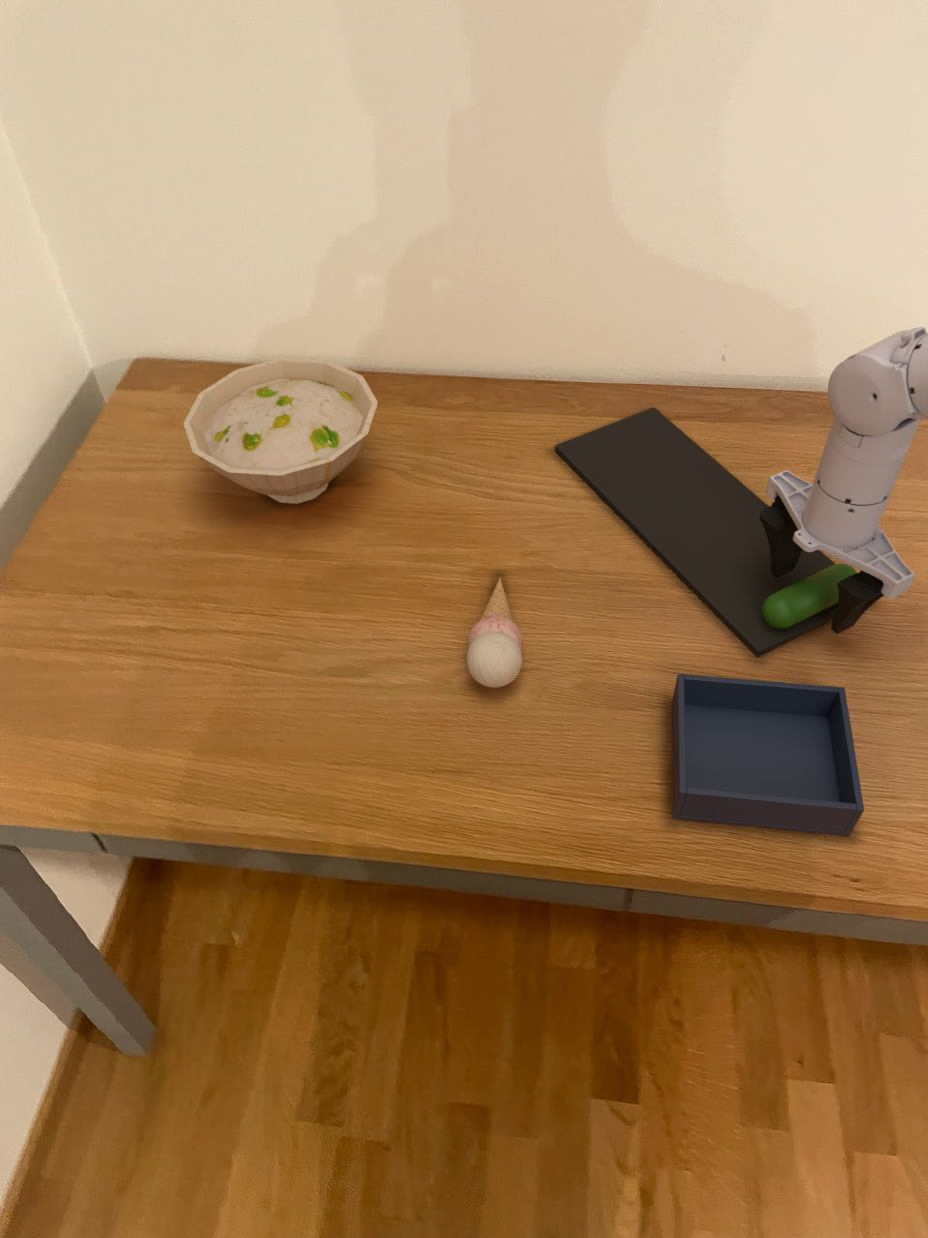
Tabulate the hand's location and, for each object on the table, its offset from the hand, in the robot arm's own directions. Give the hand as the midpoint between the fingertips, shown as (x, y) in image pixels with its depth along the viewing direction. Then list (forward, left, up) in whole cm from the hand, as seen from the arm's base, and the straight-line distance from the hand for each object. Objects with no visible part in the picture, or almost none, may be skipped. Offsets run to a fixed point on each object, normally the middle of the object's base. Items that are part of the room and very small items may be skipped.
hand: (811, 598), depth 82 cm
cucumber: (0, 0, 0) cm, 0 cm away
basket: (-10, +14, -2) cm, 18 cm away
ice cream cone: (+11, +25, -2) cm, 28 cm away
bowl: (+41, +33, -2) cm, 53 cm away
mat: (+15, +1, -2) cm, 15 cm away
